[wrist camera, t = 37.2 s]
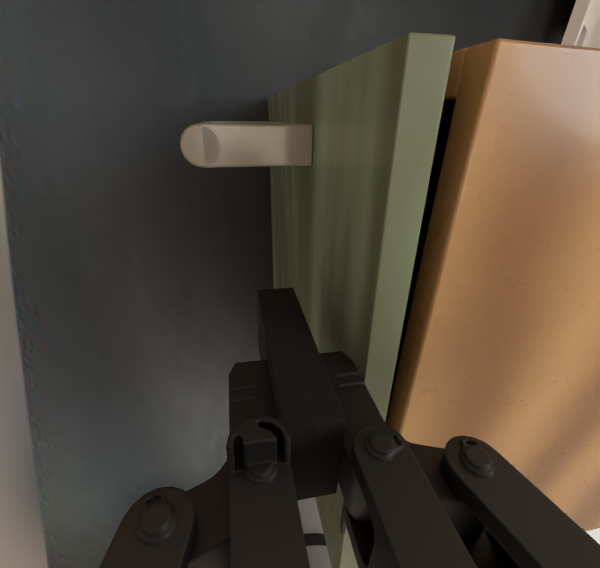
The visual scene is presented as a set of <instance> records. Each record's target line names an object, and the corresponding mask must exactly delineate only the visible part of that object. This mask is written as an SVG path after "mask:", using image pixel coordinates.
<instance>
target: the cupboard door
mask: <svg viewBox="0 0 600 568" xmlns="http://www.w3.org/2000/svg"><path fill="white" fill-rule="evenodd" d="M454 42H455V36H454V35H446V34H430V33H414V32H410V33H408V34H405V35H403V36H401V37H399V38H397V39H394V40H392V41H390V42H388V43H386V44H384V45H381V46H379V47H377V48H375V49H373V50H370V51H368V52H366V53H364V54H362V55H360V56H357V57H355V58H353V59H351V60H349V61H346V62H344V63H342V64H340V65H338V66H336V67H333V68H331V69H329V70H327V71H325V72H322V73H320V74H318V75H316V76H314V77H311V78H309V79H307V80H305V81H303V82H301V83H298V84H296V85H294V86H292V87H290V88H287V89H285V90H283V91H281V92H279V93H277V94H274V95H272V96H270V97H268V121H269V122H265V121H205V122H201V123H197V124H193V125H190V126H189V127H187V128H186V129H185V130H184V132H183V133H182V135H181V139H180V147H181V151H182V153H183V155H184V157H185V158H186V160H187V161H188V162H190V163H191V164H193V165H195V166H197V167H202V168H205V167H206V168H210V167H270V190H271V224H272V259H273V289H279V288H294V291H295V293H296V296H297V298H298V301H299V303H300V306H301V308H302V311H303V313H304V316H305V318H306V321H307V323H308V326H309V328H310V331H311V333H312V336H313V338H314V341H315V343H316V346H317V348H318V351H319V353H328V352H337V351H342V352H343V353H344V354H345V355H347V356H348V357H349V358H350V359H351V360H352V361H353V362H354V364H355V366H356V368H357V370H358V372H359V375H360V376H361V378H362V380H363V382H364V385H366V387H367V389H368V391H369V393H370V395H371V397H372V399H373V401H374V403H375V404H376V406H377V408H378V410H379V412H380V414H381V416H382V418H383V420H384V422H385V421H386V415H387V410H388V404H389V399H390V393H391V388H392V382H393V377H394V372H395V366H396V361H397V355H398V350H399V344H400V339H401V333H402V328H403V322H404V317H405V311H406V306H407V300H408V295H409V289H410V284H411V278H412V273H413V267H414V262H415V256H416V251H417V245H418V240H419V234H420V229H421V223H422V218H423V212H424V207H425V201H426V196H427V190H428V185H429V179H430V174H431V168H432V163H433V157H434V152H435V146H436V141H437V135H438V130H439V124H440V119H441V113H442V108H443V103H444V97H445V92H446V86H447V81H448V75H449V70H450V64H451V59H452V53H453V48H454ZM315 499H316V503H317V507H318V511H319V516H320V520H321V524H322V528H323V533H324V537H325V541H326V545H327V550H328V554H329V558H330V563H331V567H332V568H358V564H357V561H356V558H355V554H354V551H353V548H352V544H351V541H350V537H349V534H348V531H347V527H346V531H345V534H342V535H341V531H340V520H341V513H342V507H343V501H344V499H343V495H342V492H341V489H340V486H339V483H338V484H337V492H336V493H335V494H329V495H324V496H319V497H315Z"/></svg>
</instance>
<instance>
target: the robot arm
mask: <svg viewBox="0 0 600 568" xmlns="http://www.w3.org/2000/svg"><path fill="white" fill-rule="evenodd" d="M257 307H258V342H259V352H260V359H261V361H251V362H242V363H235V365H234V367H233V368H232V370H231V372H230V374H229V422H230V434H229V437H228V441H227V446H226V449H227V460H226V462H225V464H224V465H223V467H222V468H221V470H220V471H219V472H218V473H216V474H215V475H214V476H213V477H212V478H210V479H209V480H207V481H206V482H204V483H202V484H200V485H198V486H196V487H194V488H192V489H190V490H188V491H186V492H185V491H184V490H182V489H179V488H175V487H163V488H157V489H155V490H153V491H151V492H149V493H147V494H145V495H143V496H142V497H141V498H140V499H139V500H138V501H136V502H135V503H134V504H133V505H132V506H131V507H130V509H129V510H128V512H127V513H126V515H125V516H124V518H123V519H122V521H121V524H120V526H119V528H118V530H117V532H116V534H115V536H114V538H113V540H112V542H111V544H110V547H109V549H108V551H107V553H106V555H105V557H104V559H103V561H102V563H101V565H100V567H99V568H332V567H331V563H330V558H329V554H328V550H327V545H326V541H325V537H324V533H323V528H322V524H321V520H320V516H319V511H318V507H317V503H316V499H315V497H319V496H324V495H329V494H335V493H336V492H337V484H338V483H339V486H340V489H341V492H342V495H343V499H344V501H343V507H342V513H341V520H340V531H341V535H342V534H345V531H346V527H347V531H348V534H349V537H350V541H351V544H352V548H353V551H354V554H355V558H356V561H357V564H358V568H600V545H599V544H598V543H597V542H596V541H595V540H594V539H593V538H592V537H591V536H590V535H588V534H587V533H586V532H585V531H584V530H583V529H582V528H581V527H580V526H579V525H578V524H576V523H575V522H574V521H573V520H572V519H571V518H570V517H569V516H568V515H567V514H565V513H564V512H563V511H562V510H561V509H560V508H559V507H558V506H557V505H556V504H554V503H553V502H552V501H551V500H550V499H549V498H548V497H547V496H546V495H545V494H543V493H542V492H541V491H540V490H539V489H538V488H537V487H536V486H535V485H534V484H533V483H531V482H530V481H529V480H528V479H527V478H526V477H525V476H524V475H523V474H522V473H520V472H519V471H518V470H517V469H516V468H515V467H514V466H513V465H512V464H511V463H509V462H508V461H507V460H506V459H505V458H504V457H503V456H502V455H501V454H500V453H499V452H497V451H496V450H495V449H494V448H492V447H491V446H490V445H488V444H487V443H485V442H484V441H481V440H479V439H477V438H474V437H470V436H463V435H461V436H456V437H452V438H451V439H450V440H449V441H448V442H447V443H446V446H445V448H439V447H433V446H426V445H419V444H415V443H411V442H409V441H406V440H405V439H404V438H403V436H402V435H401V434H400V433H399V432H397V431H396V430H394V429H393V428H391V427H389V426H387V425H386V423H385V422H384V420H383V418H382V416H381V414H380V412H379V410H378V408H377V406H376V404H375V403H374V401H373V399H372V397H371V395H370V393H369V391H368V389H367V387H366V385H364V382H363V380H362V378H361V376H360V375H359V372H358V370H357V368H356V366H355V364H354V362H353V361H352V360H351V359H350V358H349V357H348V356H347V355H345V354H344V353H343V352H342V351H337V352H328V353H319V351H318V348H317V346H316V343H315V341H314V338H313V336H312V333H311V331H310V328H309V326H308V323H307V321H306V318H305V316H304V313H303V311H302V308H301V306H300V303H299V301H298V298H297V296H296V293H295V291H294V288H279V289H263V290H257Z"/></svg>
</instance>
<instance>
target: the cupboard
mask: <svg viewBox="0 0 600 568" xmlns="http://www.w3.org/2000/svg"><path fill="white" fill-rule="evenodd" d="M420 231H421V232H422V233H424V234H426V235H427V236H426V241H425V246H424V250H423V255H422V259H421V264H420V269H419V273H418V278H417V283H416V287H415V292H414V296H413V301H412V306H411V310H410V311H405V317H404V322H403V328H402V333H401V339H400V344H399V350H398V355H397V361H396V366H395V372H394V377H393V382H392V388H391V393H390V399H389V404H388V410H387V415H386V421H385V423H386V425H387V426H389V427H391V428H393V429H394V430H396V431H397V432H399V433H400V434H401V435H402V436H403V438H404V439H405V440H406V441H409V442H411V443H415V444H419V445H426V446H433V447H439V448H445V446H446V443H447V442H448V441H449V440H450V439H451V438H452V437H456V436H461V435H463V436H470V437H474V438H477V439H479V440H481V441H484V442H485V443H487V444H488V445H490V446H491V447H492V448H494V449H495V450H496V451H497V452H499V453H500V454H501V455H502V456H503V457H504V458H505V459H506V460H507V461H508V462H509V463H511V464H512V465H513V466H514V467H515V468H516V469H517V470H518V471H519V472H520V473H522V474H523V475H524V476H525V477H526V478H527V479H528V480H529V481H530V482H531V483H533V484H534V485H535V486H536V487H537V488H538V489H539V490H540V491H541V492H542V493H543V494H545V495H546V496H547V497H548V498H549V499H550V500H551V501H552V502H553V503H554V504H556V505H557V506H558V507H559V508H560V509H561V510H562V511H563V512H564V513H565V514H567V515H568V516H569V517H570V518H571V519H572V520H573V521H574V522H575V523H576V524H578V525H579V526H580V527H581V528H582V529H583V530H584V531H589V530H593V529H597V528H600V48H592V47H582V46H572V45H562V44H552V43H541V42H531V41H521V40H511V39H501V38H499V39H495V40H492V41H488V42H485V43H481V44H478V45H474V46H471V47H469V48H463V49H460V50H456V51H453V53H452V59H451V64H450V70H449V75H448V81H447V86H446V92H445V97H444V103H443V108H442V113H441V119H440V124H439V130H438V135H437V141H436V146H435V152H434V157H433V163H432V168H431V174H430V179H429V185H428V190H427V196H426V201H425V207H424V212H423V218H422V223H421V229H420Z"/></svg>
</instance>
